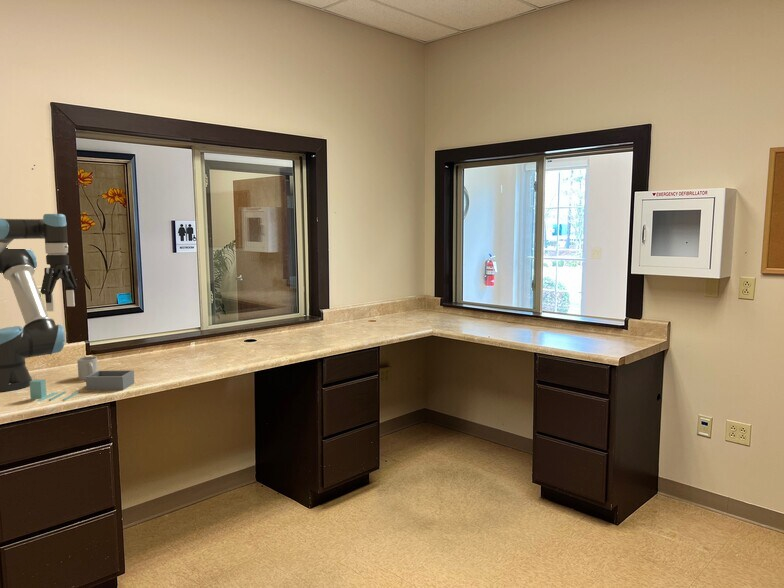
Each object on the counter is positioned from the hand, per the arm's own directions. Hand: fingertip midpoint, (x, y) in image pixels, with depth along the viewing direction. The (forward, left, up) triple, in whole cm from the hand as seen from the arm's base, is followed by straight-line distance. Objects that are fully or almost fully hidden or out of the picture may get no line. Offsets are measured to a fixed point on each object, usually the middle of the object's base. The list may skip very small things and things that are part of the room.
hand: (61, 308), depth 220 cm
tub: (+18, -1, -32) cm, 36 cm away
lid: (+5, -14, -32) cm, 35 cm away
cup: (+3, +12, -32) cm, 34 cm away
